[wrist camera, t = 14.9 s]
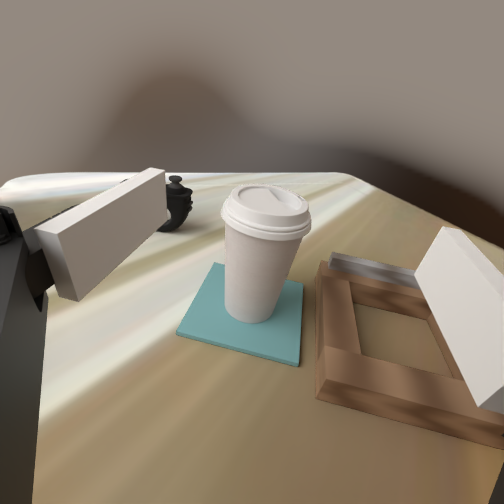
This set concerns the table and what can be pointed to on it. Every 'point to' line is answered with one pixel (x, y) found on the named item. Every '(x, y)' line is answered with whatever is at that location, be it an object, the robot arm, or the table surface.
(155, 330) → the table surface
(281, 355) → the pad
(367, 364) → the cup holder
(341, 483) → the table surface
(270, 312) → the coffee cup
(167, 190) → the controller
